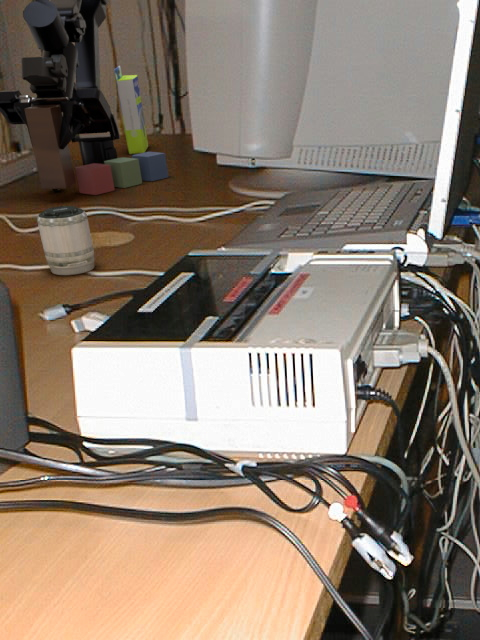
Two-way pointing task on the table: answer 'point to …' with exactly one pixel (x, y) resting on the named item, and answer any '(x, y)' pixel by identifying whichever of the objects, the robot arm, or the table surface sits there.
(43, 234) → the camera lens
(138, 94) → the box
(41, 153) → the tall block
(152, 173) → the cube
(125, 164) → the cube
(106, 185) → the cube
